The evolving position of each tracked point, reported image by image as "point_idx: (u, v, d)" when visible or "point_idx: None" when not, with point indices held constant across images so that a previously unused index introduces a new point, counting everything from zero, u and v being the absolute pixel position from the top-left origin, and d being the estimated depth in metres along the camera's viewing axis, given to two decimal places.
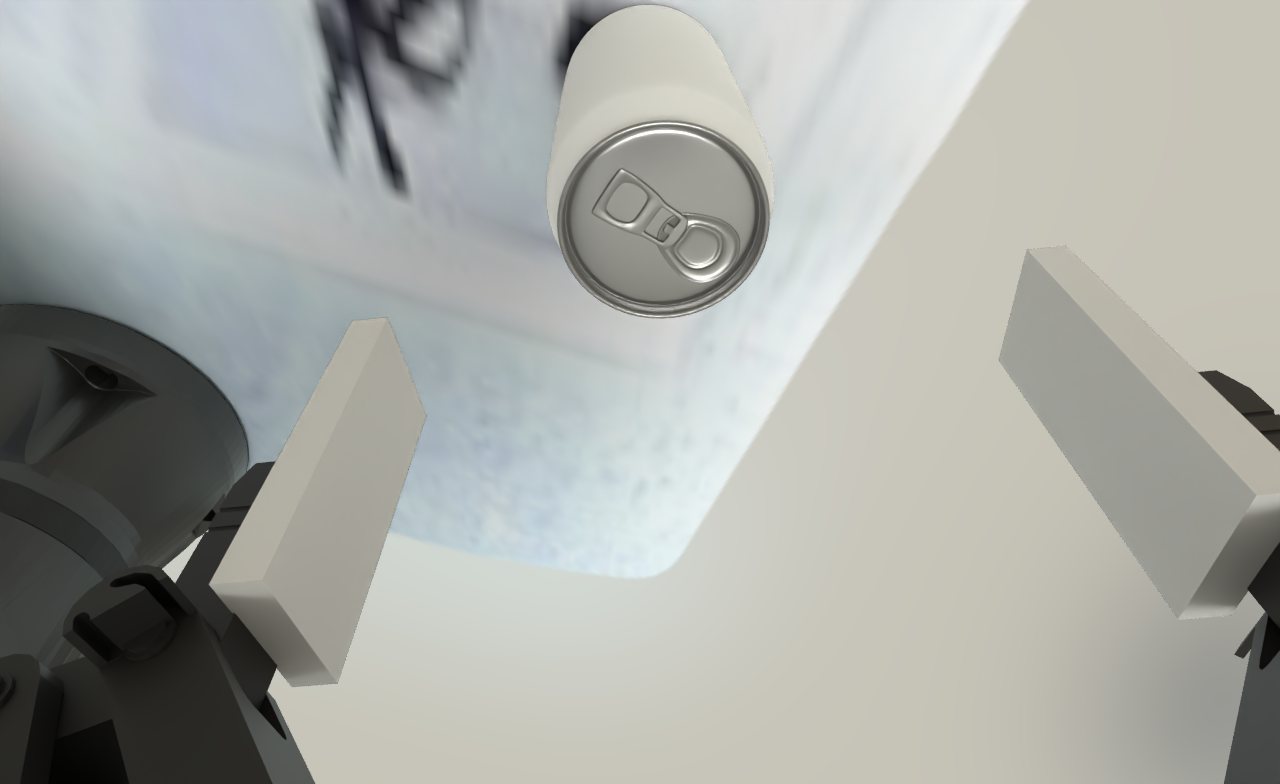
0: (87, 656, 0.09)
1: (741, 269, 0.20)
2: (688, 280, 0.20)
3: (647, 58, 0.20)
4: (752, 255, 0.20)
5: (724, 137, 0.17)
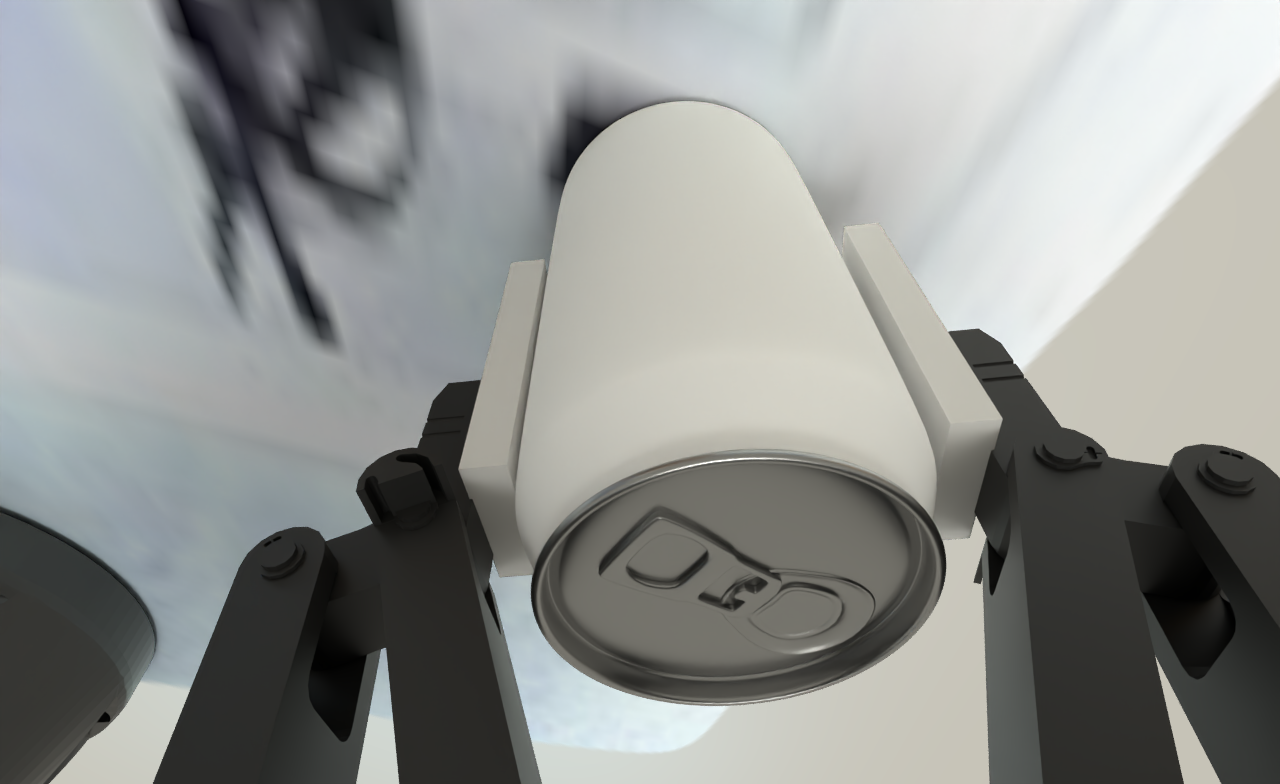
0: (369, 513, 0.10)
1: (871, 638, 0.11)
2: (772, 651, 0.11)
3: (701, 251, 0.11)
4: (896, 626, 0.10)
5: (876, 477, 0.08)
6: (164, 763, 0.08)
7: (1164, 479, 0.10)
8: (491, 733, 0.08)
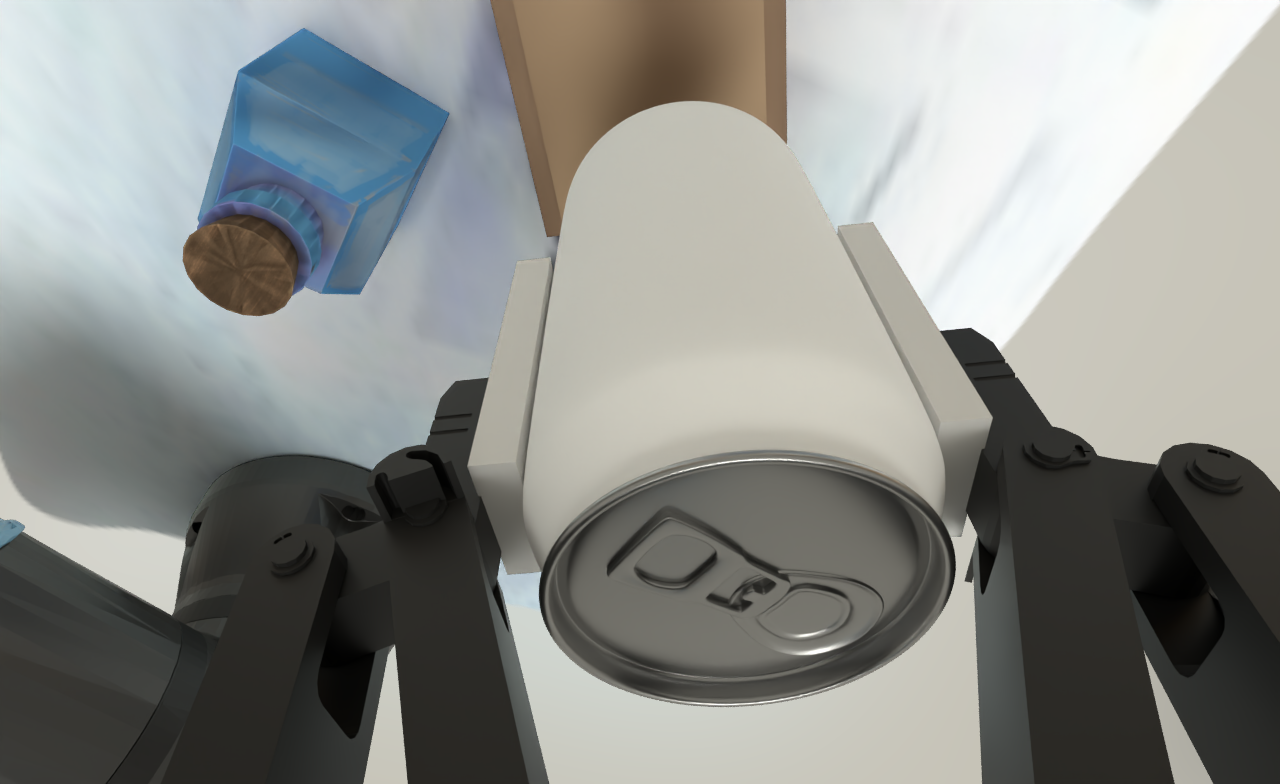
0: (378, 509, 0.10)
1: (879, 640, 0.11)
2: (780, 652, 0.11)
3: (710, 251, 0.11)
4: (904, 627, 0.10)
5: (886, 479, 0.08)
6: (174, 757, 0.08)
7: (1153, 478, 0.10)
8: (499, 730, 0.08)
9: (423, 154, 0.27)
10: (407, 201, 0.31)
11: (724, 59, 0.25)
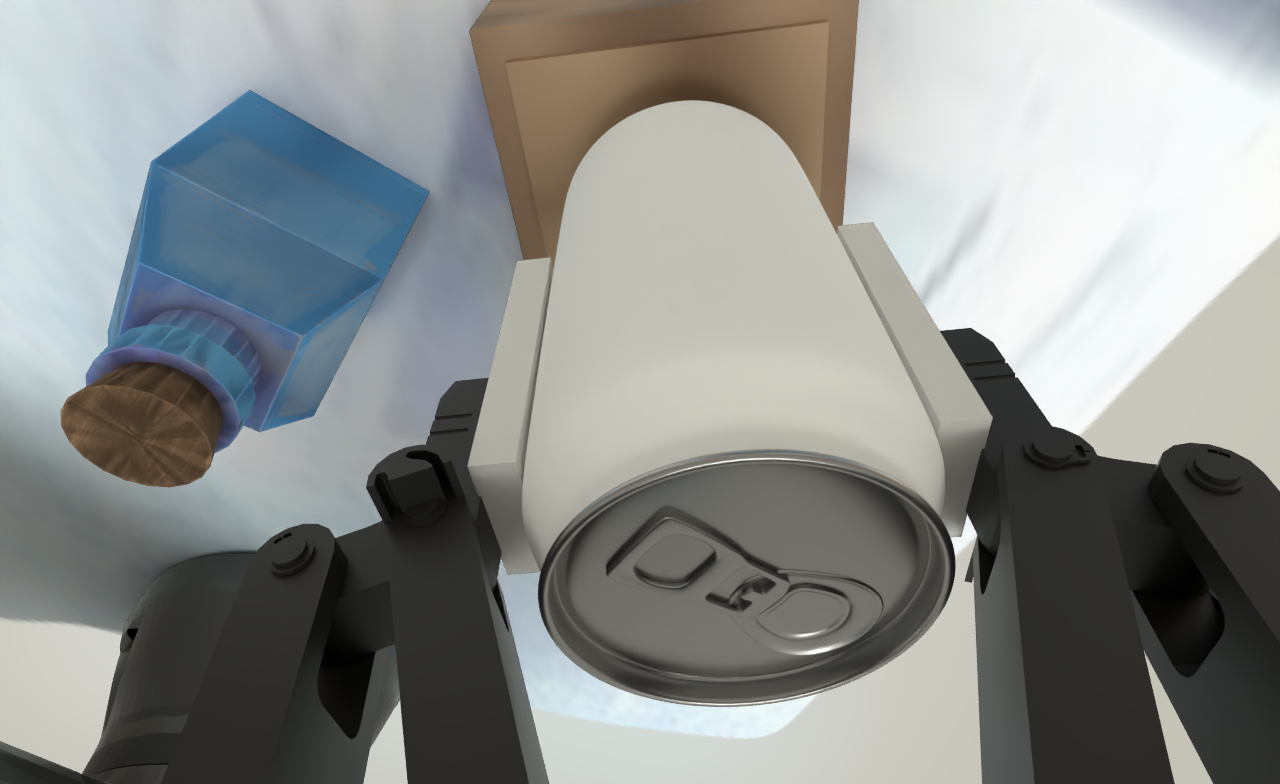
0: (378, 509, 0.10)
1: (879, 640, 0.11)
2: (779, 653, 0.11)
3: (709, 250, 0.11)
4: (904, 627, 0.10)
5: (886, 478, 0.08)
6: (174, 758, 0.08)
7: (1153, 478, 0.10)
8: (498, 730, 0.08)
9: (393, 256, 0.21)
10: None
11: None
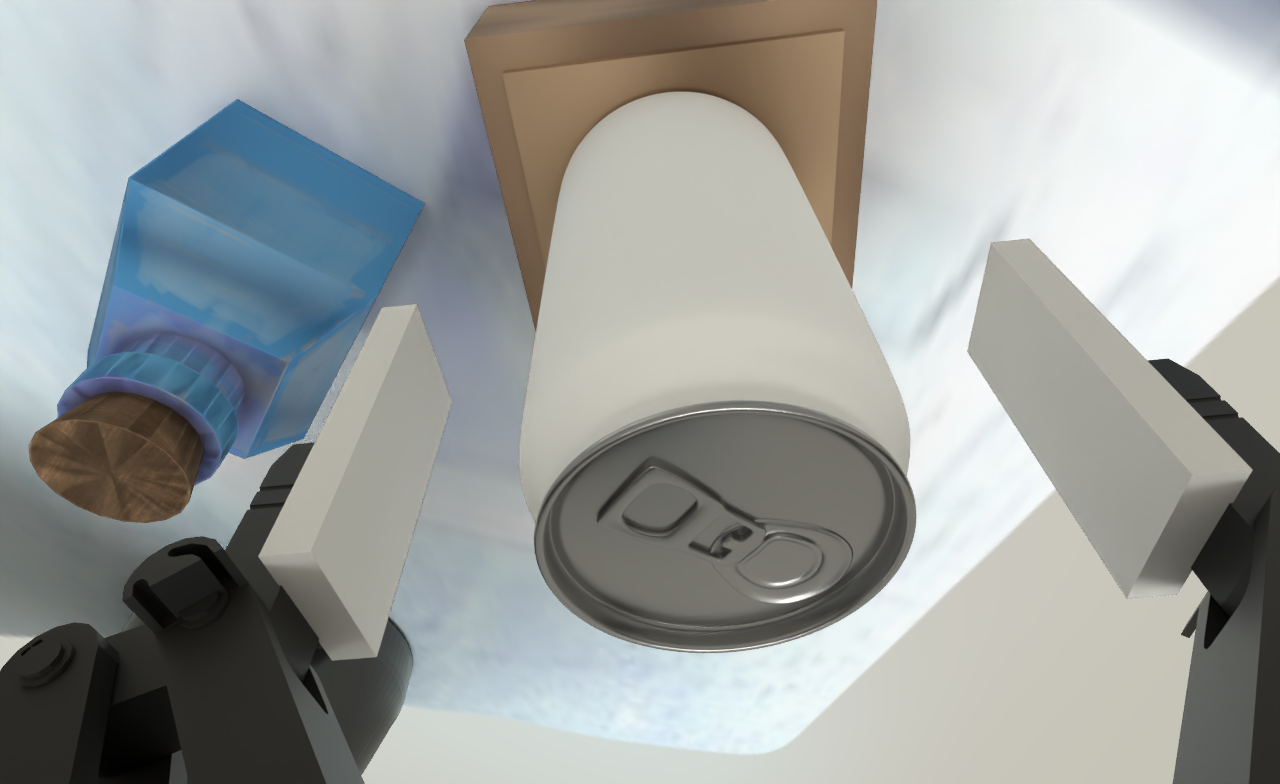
0: (144, 621, 0.09)
1: (850, 588, 0.12)
2: (759, 601, 0.12)
3: (693, 226, 0.12)
4: (872, 575, 0.11)
5: (850, 428, 0.09)
6: None
7: None
8: None
9: (385, 274, 0.20)
10: None
11: None
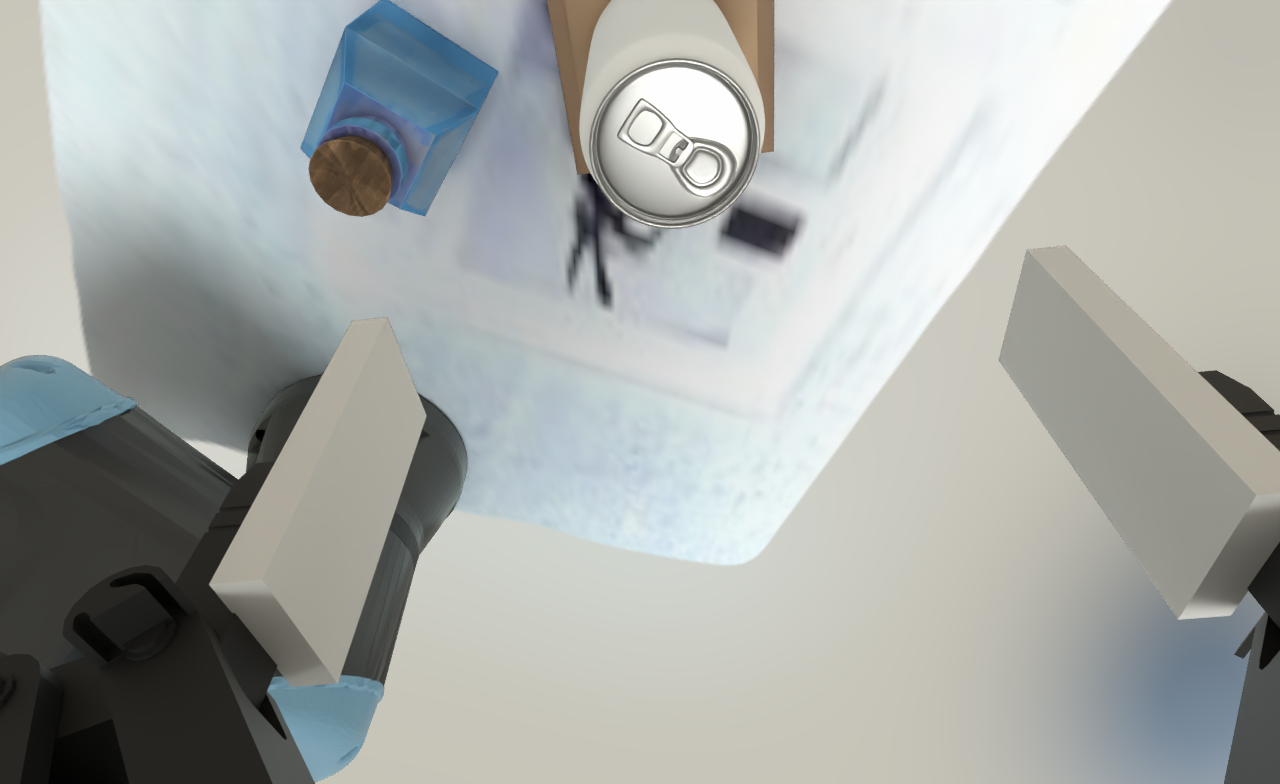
0: (87, 656, 0.09)
1: (737, 187, 0.24)
2: (694, 196, 0.25)
3: (662, 14, 0.24)
4: (746, 174, 0.24)
5: (723, 73, 0.22)
6: None
7: None
8: None
9: (482, 100, 0.33)
10: None
11: None
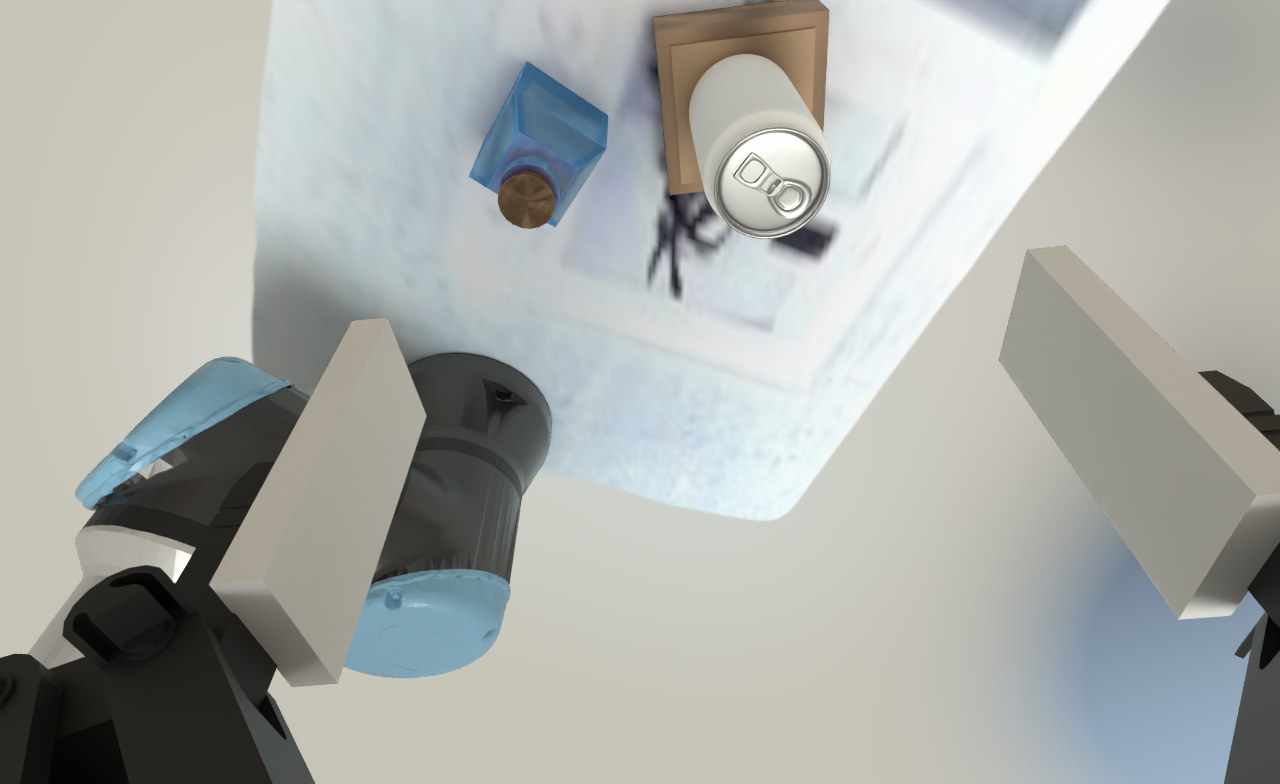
0: (87, 656, 0.09)
1: (812, 210, 0.36)
2: (781, 216, 0.36)
3: (760, 92, 0.36)
4: (818, 202, 0.35)
5: (808, 136, 0.33)
6: None
7: None
8: None
9: (606, 140, 0.44)
10: None
11: None
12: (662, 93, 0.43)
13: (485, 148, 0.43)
